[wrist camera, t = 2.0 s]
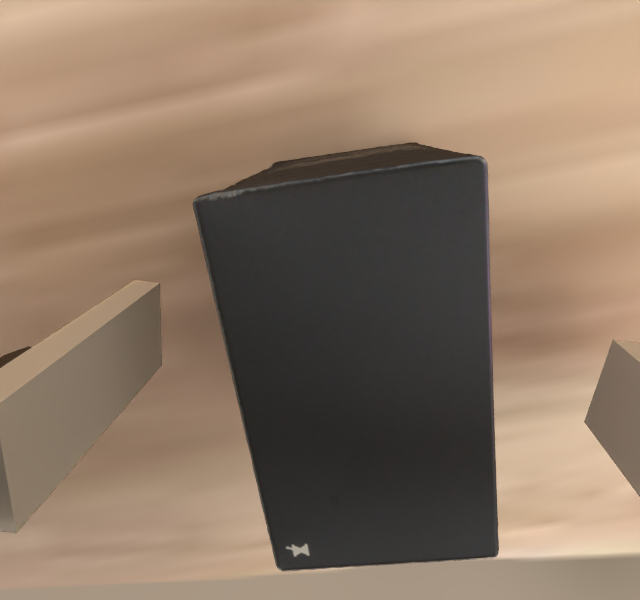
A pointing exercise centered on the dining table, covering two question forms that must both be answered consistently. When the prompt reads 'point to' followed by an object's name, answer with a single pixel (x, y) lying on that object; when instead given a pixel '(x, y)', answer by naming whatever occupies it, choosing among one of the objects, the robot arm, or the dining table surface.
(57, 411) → the robot arm
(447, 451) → the small box
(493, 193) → the dining table surface
